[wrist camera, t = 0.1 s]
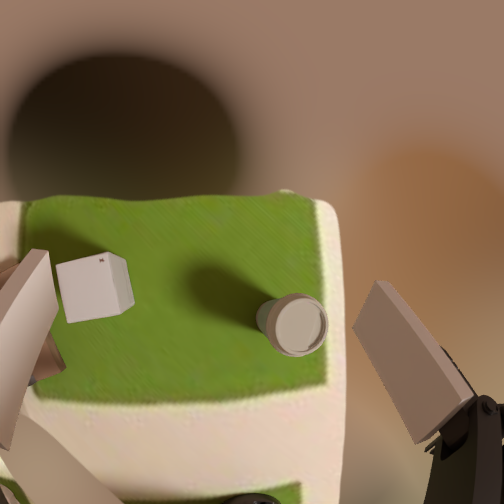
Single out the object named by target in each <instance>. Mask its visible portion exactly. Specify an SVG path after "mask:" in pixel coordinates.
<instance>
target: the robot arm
mask: <svg viewBox="0 0 504 504" xmlns="http://www.w3.org/2000/svg"><path fill="white" fill-rule="evenodd" d="M58 310H59V307H58V303H57V298H56V293H55V288H54V283H53V277H52V271H51V265H50V259H49V252H48V250H39V249H31V250H30V252H29V253H28V254H27V255H26V257H25V258H24V259H23V260H22V262H21V263H20V264H19V266H18V267H17V268H16V270H15V271H14V272H13V274H12V275H11V276H10V278H9V279H8V280H7V282H6V283H5V285H4V286H3V287H2V289H1V290H0V448H2V449H5V450H7V451H9V450H10V445H11V441H12V437H13V433H14V429H15V425H16V422H17V418H18V415H19V411H20V408H21V405H22V401H23V398H24V395H25V392H26V389H27V386H28V383H29V380H30V377H31V375H32V372H33V369H34V366H35V364H36V361H37V359H38V356H39V353H40V351H41V348H42V346H43V344H44V341H45V339H46V336H47V334H48V332H49V329H50V327H51V325H52V323H53V320H54V318H55V316H56V314H57V312H58ZM352 329H353V331H354V332H355V334H356V336H357V337H358V339H359V341H360V343H361V344H362V346H363V348H364V350H365V352H366V353H367V355H368V357H369V359H370V360H371V362H372V364H373V366H374V368H375V369H376V371H377V373H378V375H379V377H380V378H381V380H382V382H383V384H384V386H385V388H386V390H387V391H388V393H389V395H390V397H391V399H392V401H393V403H394V405H395V406H396V408H397V410H398V412H399V414H400V416H401V418H402V420H403V422H404V424H405V426H406V428H407V430H408V432H409V434H410V436H411V437H412V440H413V441H414V444H418V443H421V442H423V441H426V440H428V439H429V438H431V437H432V436H433V435H434V434H435V433H436V432H437V431H438V430H439V432H440V434H441V435H440V436H439V437H437V438H436V439H435V440H434V441H433V442H431V443H430V444H429V445H428V446H427V447H426V448H425V451H424V452H427V451H428V450H430V449H431V448H432V447H433V446H435V448H434V449H432V450H431V452H430V454H433V455H434V456H433V462H432V468H431V473H430V478H429V483H428V487H427V492H426V496H425V500H424V504H504V445H503V446H502V439H503V438H504V404H497V403H496V402H495V401H494V400H493V399H492V398H491V397H489V396H486V395H481V396H480V397H478V395H477V394H476V393H475V391H474V390H473V388H472V387H471V385H470V384H469V382H468V381H467V380H466V378H465V377H464V375H463V374H462V372H461V371H460V370H459V369H458V367H457V365H456V364H455V363H454V362H453V360H452V358H451V357H450V356H449V354H448V353H447V352H446V350H444V349H443V348H442V347H441V346H440V345H439V344H438V343H437V342H436V340H435V339H434V338H433V336H432V335H431V334H430V332H429V331H428V330H427V329H426V327H425V326H424V325H423V323H422V322H421V321H420V320H419V318H418V317H417V316H416V315H415V313H414V312H413V311H412V309H411V308H410V307H409V306H408V305H407V303H406V302H405V301H404V300H403V298H402V297H401V296H400V295H399V294H398V292H397V291H396V290H395V289H394V288H393V286H392V285H391V284H390V283H389V282H388V281H375V282H374V284H373V286H372V289H371V291H370V293H369V295H368V297H367V299H366V301H365V303H364V305H363V307H362V309H361V311H360V314H359V315H358V317H357V319H356V322H355V323H354V325H353V327H352ZM0 504H9V503H8V501H7V499H6V497H5V495H4V493H3V491H2V489H1V487H0ZM222 504H281V503H280V502H279V501H278V500H277V499H276V498H274V497H272V496H269V495H265V494H246V495H241V496H237V497H234V498H231V499H229V500H227V501H225V502H223V503H222Z"/></svg>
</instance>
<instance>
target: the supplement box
mask: <svg viewBox="0 0 504 504" xmlns="http://www.w3.org/2000/svg"><path fill="white" fill-rule="evenodd" d="M56 271H57V277H58V282H59V287H60V292H61V297H62V302H63V306H64V311H65V315H66V319H67V323H74V322H80V321H86V320H92V319H97V318H103V317H109V316H114V315H120V314H121V313H122V312H124V311H125V310H127V309H128V308H130V307H132V306H133V305H134V304H135V302H134V297H133V292H132V288H131V283H130V279H129V274H128V269H127V264H126V260H125V259H123V258H121V257H119V256H117V255H114V254H112V253H110V252H104V253H100V254H96V255H92V256H88V257H84V258H80V259H76V260H72V261H69V262H65V263H61V264H57V265H56Z"/></svg>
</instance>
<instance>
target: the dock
mask: <svg viewBox="0 0 504 504" xmlns="http://www.w3.org/2000/svg"><path fill="white" fill-rule="evenodd" d="M18 266H19V263H18V264H16V265H14V266H12V267H10V268H9V269H7V270H5V271H3V272H2V273H0V290H1V289H2V287H3V286H4V285H5V283H6V282H7V280H8V279H9V278H10V276H11V275H12V274H13V272H14V271H15V270H16V268H17V267H18ZM65 368H66V365H65V363H64V361H63V359H62V357H61V355H60V353H59V351H58V349H57V346H56V344H55V342H54V340H53V337H52V335H51V333H50V330H49V332H48V334H47V336H46V339H45V341H44V344H43V346H42V348H41V351H40V353H39V356H38V359H37V361H36V364H35V366H34V369H33V372H32V375H31V377H30V380H29V383H28V386H31V385H33V384H34V383H35V382H37V381H39V380H42V379H44V378H47V377H50V376H52V375H55V374H57V373H60V372H62V371H63V370H64V369H65ZM28 386H27V387H28Z"/></svg>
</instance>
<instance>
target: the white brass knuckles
mask: <svg viewBox="0 0 504 504" xmlns="http://www.w3.org/2000/svg"><path fill="white" fill-rule="evenodd" d="M0 487H1V489H2V491H3V493H4V495H5V497H6V499H7V501H8V503H9V504H20V503H19V502H18V501H17V500H16V498H15V496H14V494H13V492H12V491H11V490H9V489H8V488H7V487H5V486H4V485H2V484H0Z"/></svg>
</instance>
